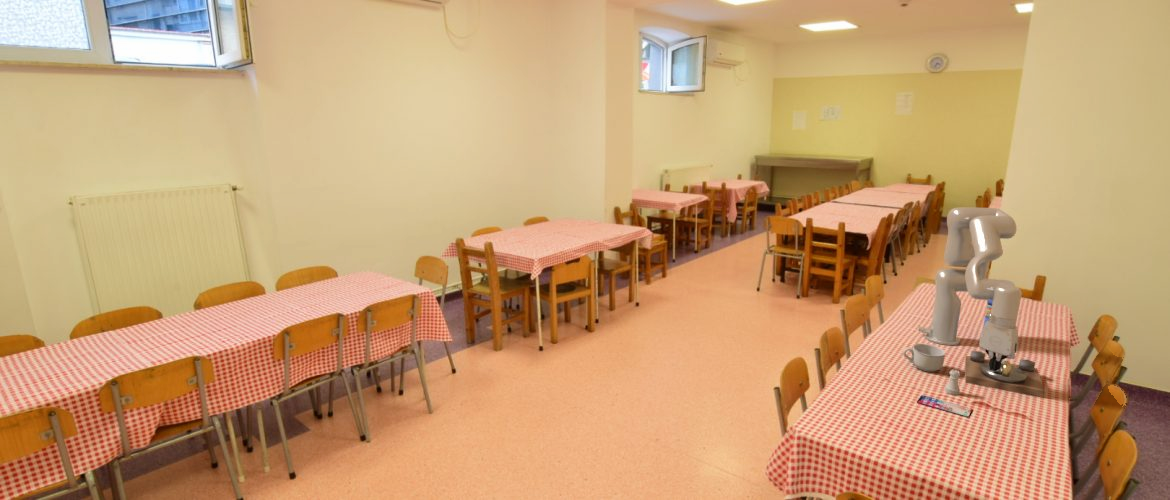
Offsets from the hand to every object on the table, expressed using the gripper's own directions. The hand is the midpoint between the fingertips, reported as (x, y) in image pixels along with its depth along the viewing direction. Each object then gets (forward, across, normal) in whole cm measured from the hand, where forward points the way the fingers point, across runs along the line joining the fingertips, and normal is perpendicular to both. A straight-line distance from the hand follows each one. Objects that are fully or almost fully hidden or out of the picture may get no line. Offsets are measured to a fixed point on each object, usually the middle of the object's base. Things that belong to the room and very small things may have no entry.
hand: (994, 369), depth 202 cm
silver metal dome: (+3, +1, +5) cm, 6 cm away
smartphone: (+6, 0, -31) cm, 32 cm away
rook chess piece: (+6, -4, -19) cm, 20 cm away
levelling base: (+6, 0, +8) cm, 10 cm away
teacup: (+6, -21, -7) cm, 23 cm away
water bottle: (+7, -22, +52) cm, 57 cm away
